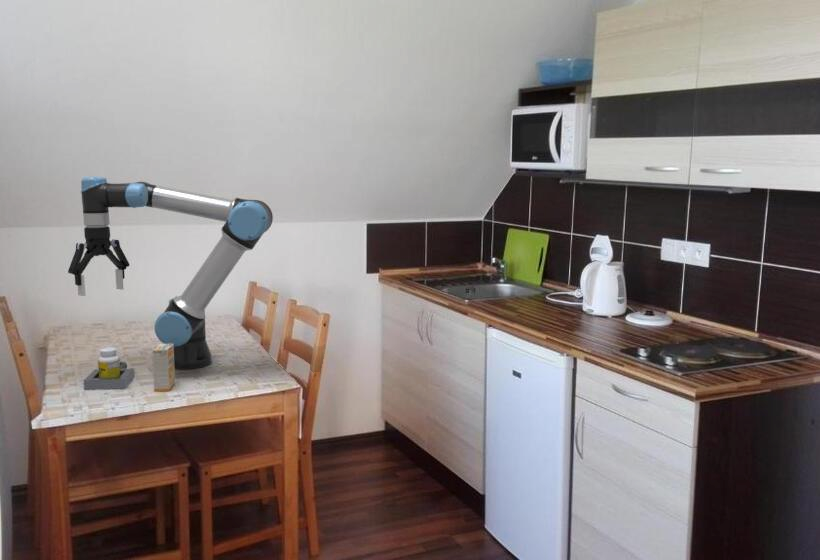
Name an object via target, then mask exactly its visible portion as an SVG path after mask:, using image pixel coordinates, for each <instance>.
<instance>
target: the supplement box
mask: <svg viewBox="0 0 820 560" xmlns="http://www.w3.org/2000/svg"><path fill="white" fill-rule="evenodd" d="M151 351H152V368H153V369H152V370H153V389H154V392H169V391H170V390H171V389H172V388H173V386H174V385H175V384H176V371H175V370H176V369H175V366H174V344H164V343H158V344H157V345H156V346H155V347H154V348H153V349H152V350H151Z"/></svg>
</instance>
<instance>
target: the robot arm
mask: <svg viewBox="0 0 820 560" xmlns="http://www.w3.org/2000/svg"><path fill="white" fill-rule="evenodd" d="M80 184H81V187H80V188H81V190H80V194H81V202H82V217H83V226H85V227H84V229H83V231H84V239H85V243H82V242H81V243H80V242H77V243H75V252H74V255H73V257H72V260H71V262H70V265H69V268H68V270H67V272H68V274H71V275H74V284H75V286H77V295H78V296H81V297H86V284H85V275H84V274H83V273H84V271H85V270H86V267H87V266H88V264H89V263H90V262H91V260H92V259H93V258H94V257H99V256H105V257H107V258H108V259H109V261H110V262H111V263H112V264H114V266H115V267H116V269H115V285H116V290H121V291H122V290H124V279H125V278H126V276H125V270H126V269H127V268H128V267H130V262H129V260H128V258H127V256H126V255H125V253H124V251H123V250H122V248H121V243H120V240H119V239H112V240H111V227H109V225H110V214H109V213H110V211H109V210H110V209H109V208H133V209H136V208H143V207H146V208H147V207H148V208H154V209H159V210H165V211H168V212H174V213H180V214H184V215H190V216H194V217H199V218H204V219H209V220H214V221H215V220H216V221H220V222H224V225H223V226H222V227H221V229H220V231H221V234H222V235H221V237H220V239H219V240H218V241H217V243H216V244H215V246H214V248H212V250H211V252H210V253H209V254H208V256H207V258H206V259H205V261H204V262H203V263H202V265H201V266H200V267H199V269H198V271H197V272H196V274H195V275H194V276H193V278H192V279H191V281H190V282H189V284H188V285H187V287H186V288H185V289H184V291H183V292H182V294H181V295H178V296H177V295H176V296H174V297H173V298H171V299H170V298H169V300H168V305H167V306H166V308H165V309H164V311H163V312H162V313H161V314H160V315H159V316H158V317H157V318H156V320H155V322H154V333H155V336H156V337H157V339H158V340H159V341H160V342H161V344H174V366H175V370H188V369H189V370H190V369H191V370H193V369H199V368H203V367H208V366H209V365H211V364H212V362H213V358H212V357H213V356H212V353H211V350H210V348H209V345H208V343H207V337H206V335H207V333H206V310H205V309H207V307H208V306H209V304H210V302H211V301H212V299H213V298H214V296H215V295H216V294H217V292H218V291H219V290H220V289H221V287H222V285H223V284H224V282H225V280H226V279H227V278H228V277H229V275H230V274H231V272H232V270H233V269H234V268H235V267H236V265H237V264H238V262H239V260H240V259H241V258H242V257H243V255H244V253H246V251H252V250H253V249H254V248H255V246H256V245H257V244H258V242H259V241H260V239H261V238H262V236H263V235H264V234H265V233H266V232H267V231H268V230H269V229H270V228H271V226H272V224H273V219H274V218H273V217H274V216H273V211H272V210H271V208H270V206H269V204H267V203H265V202H264V201H263V200H259V199H244V198H238V197H235V198H233V199H228V198H224V197H223V198H222V197H218V196H214V195H213V196H212V195H207V194H202V193H197V192H194V191H193V192H192V191H186V190H183V189H179V188H178V189H176V188H171V187H167V186H162V185H155V184H152V183H149V182H145V181H136V182H127V183H110V182H108V181H107V178H106V177H103V176H93V177H92V176H88V177H82V179H81V183H80ZM111 247H112V249H113V251H112V250H111ZM85 250H86V251H85ZM84 251H85V253H84ZM114 253H115V254H114ZM83 255H84V256H83Z"/></svg>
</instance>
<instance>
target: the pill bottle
mask: <svg viewBox="0 0 820 560" xmlns="http://www.w3.org/2000/svg"><path fill="white" fill-rule="evenodd" d="M99 351H100V353H99V354H100V356H99V357H98V360H97V362H98V363H97V364H98V369H99V378H118V377H120V362H121V361H120V360H121V359H120V357H119V355H117V348H116V347H104V348H101V349H100V350H99Z"/></svg>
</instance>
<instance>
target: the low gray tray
mask: <svg viewBox="0 0 820 560" xmlns="http://www.w3.org/2000/svg"><path fill="white" fill-rule="evenodd" d="M134 378H135V369H134V368H130V367H129V368H128V365H127V362H125V361H120V377H118V378H99V368H97V369H94V370H93V371H92V372H90V374H88V375H87V376H86V377H85V378H84V379H83V390H85V391H86V390H87V391H88V390H91V391H92V390H117V389H118V390H119V389H120V390H121V389H123V390H124V389H126V388H127V387H128V386H129V384H131V382H132V380H133V379H134Z"/></svg>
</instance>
